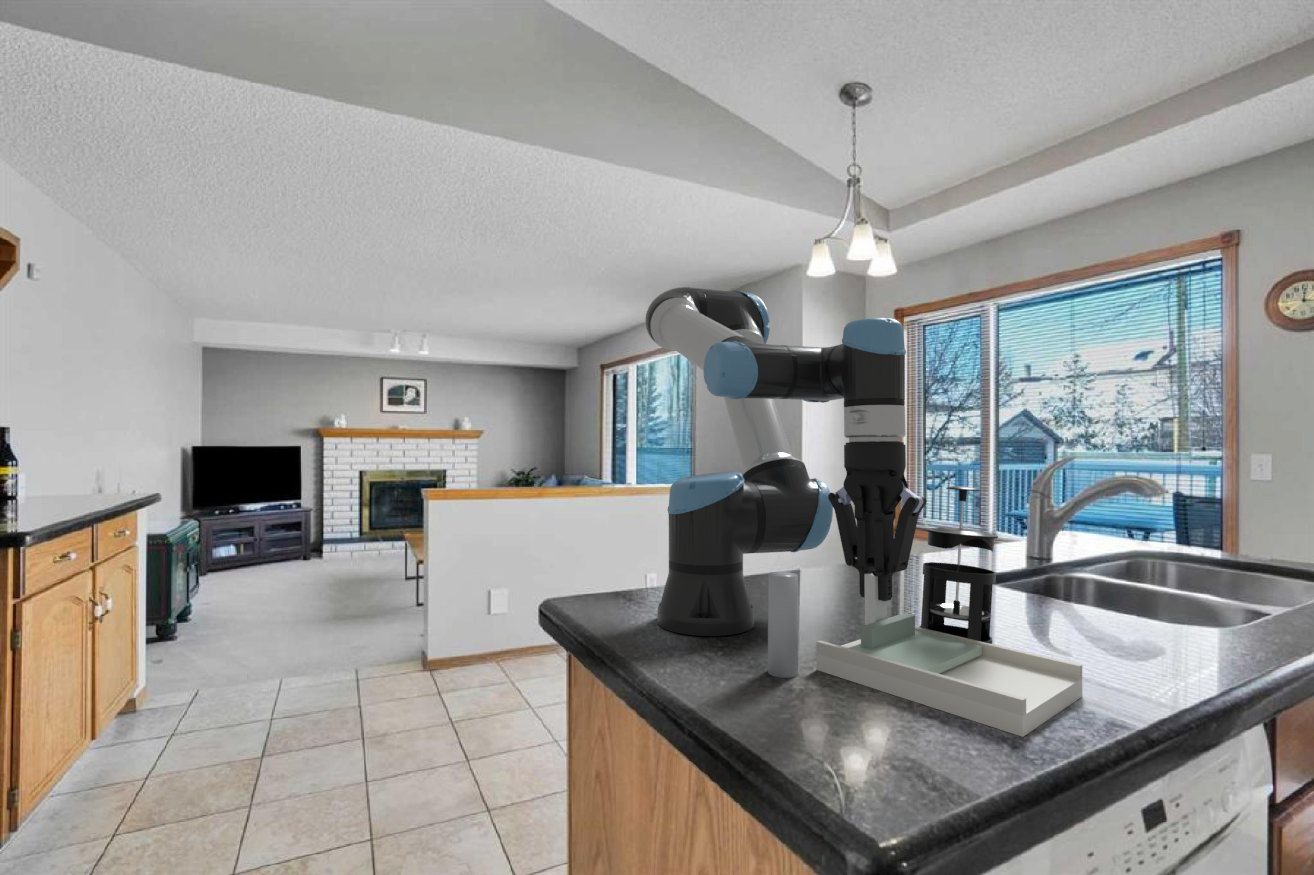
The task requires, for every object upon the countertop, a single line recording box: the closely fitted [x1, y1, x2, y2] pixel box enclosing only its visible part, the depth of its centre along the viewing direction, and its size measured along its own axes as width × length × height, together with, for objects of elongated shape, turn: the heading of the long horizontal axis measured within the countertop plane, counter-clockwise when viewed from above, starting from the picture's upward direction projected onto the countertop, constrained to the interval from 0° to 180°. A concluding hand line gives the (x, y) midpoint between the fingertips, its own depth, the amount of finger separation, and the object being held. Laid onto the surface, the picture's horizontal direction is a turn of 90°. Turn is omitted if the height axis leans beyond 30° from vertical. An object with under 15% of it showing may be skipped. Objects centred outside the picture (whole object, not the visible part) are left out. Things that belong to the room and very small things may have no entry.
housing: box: [815, 625, 1083, 738], centre depth 77 cm, size 24×16×4 cm, turn 40°
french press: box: [918, 485, 999, 644], centre depth 89 cm, size 12×9×23 cm
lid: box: [849, 612, 982, 674], centre depth 79 cm, size 10×14×4 cm
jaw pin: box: [767, 571, 799, 679], centre depth 80 cm, size 4×4×12 cm
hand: (876, 624), depth 83 cm, fingers closed
